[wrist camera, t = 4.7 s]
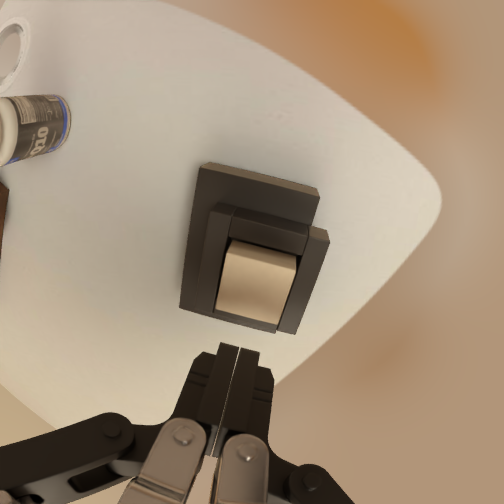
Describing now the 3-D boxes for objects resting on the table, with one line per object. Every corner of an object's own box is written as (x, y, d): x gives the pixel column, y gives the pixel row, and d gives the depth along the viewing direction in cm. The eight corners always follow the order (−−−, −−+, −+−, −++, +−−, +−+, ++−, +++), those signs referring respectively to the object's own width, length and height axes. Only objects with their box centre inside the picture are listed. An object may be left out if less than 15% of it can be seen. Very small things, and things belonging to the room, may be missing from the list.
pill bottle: (48, 162, 20) (-30, 191, 13) (26, 121, 19) (-50, 138, 11) (81, 124, 19) (-5, 141, 11) (57, 82, 17) (-26, 85, 10)
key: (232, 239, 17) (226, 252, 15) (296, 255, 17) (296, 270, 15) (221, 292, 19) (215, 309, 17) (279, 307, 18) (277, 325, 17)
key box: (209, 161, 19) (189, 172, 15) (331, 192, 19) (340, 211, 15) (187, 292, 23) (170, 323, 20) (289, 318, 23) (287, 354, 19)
